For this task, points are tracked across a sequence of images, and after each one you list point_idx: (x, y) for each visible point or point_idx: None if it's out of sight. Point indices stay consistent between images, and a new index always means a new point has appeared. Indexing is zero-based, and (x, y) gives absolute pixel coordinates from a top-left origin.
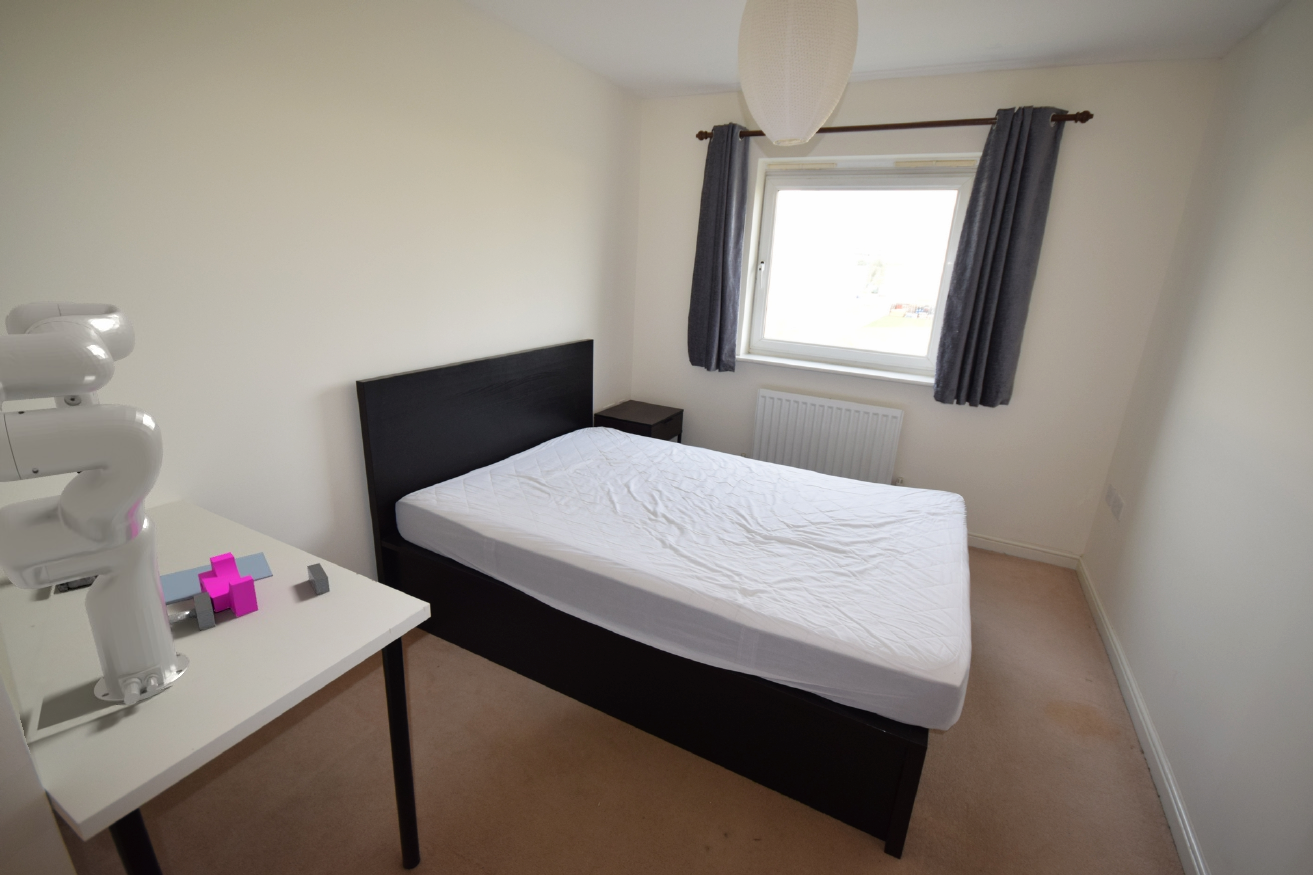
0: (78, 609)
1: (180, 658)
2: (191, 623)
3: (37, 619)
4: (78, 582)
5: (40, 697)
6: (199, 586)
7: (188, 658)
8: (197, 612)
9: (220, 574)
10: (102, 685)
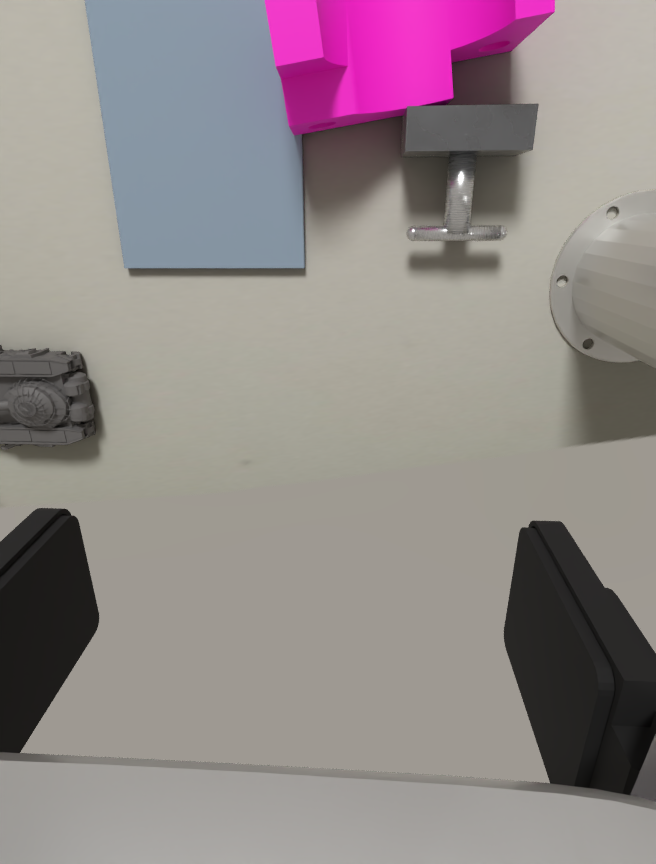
0: (212, 397)
1: (633, 207)
2: None
3: (218, 458)
4: (88, 404)
5: (563, 436)
6: (251, 138)
7: (647, 190)
8: (530, 147)
9: (341, 53)
10: (618, 349)
